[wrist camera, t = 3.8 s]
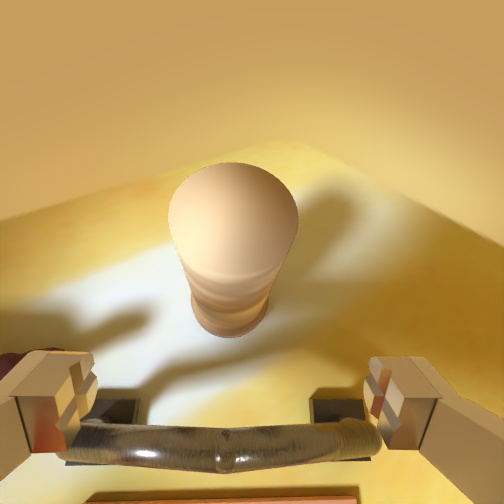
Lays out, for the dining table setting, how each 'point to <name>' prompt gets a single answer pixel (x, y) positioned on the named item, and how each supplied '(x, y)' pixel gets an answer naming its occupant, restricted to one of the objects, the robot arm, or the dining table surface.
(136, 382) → the dining table surface
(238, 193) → the birch post
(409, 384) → the robot arm
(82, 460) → the bent metal handle
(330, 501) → the tile
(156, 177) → the dining table surface
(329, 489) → the dining table surface
